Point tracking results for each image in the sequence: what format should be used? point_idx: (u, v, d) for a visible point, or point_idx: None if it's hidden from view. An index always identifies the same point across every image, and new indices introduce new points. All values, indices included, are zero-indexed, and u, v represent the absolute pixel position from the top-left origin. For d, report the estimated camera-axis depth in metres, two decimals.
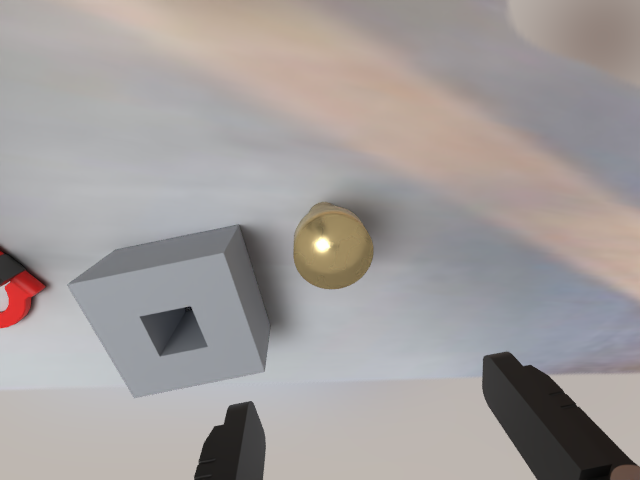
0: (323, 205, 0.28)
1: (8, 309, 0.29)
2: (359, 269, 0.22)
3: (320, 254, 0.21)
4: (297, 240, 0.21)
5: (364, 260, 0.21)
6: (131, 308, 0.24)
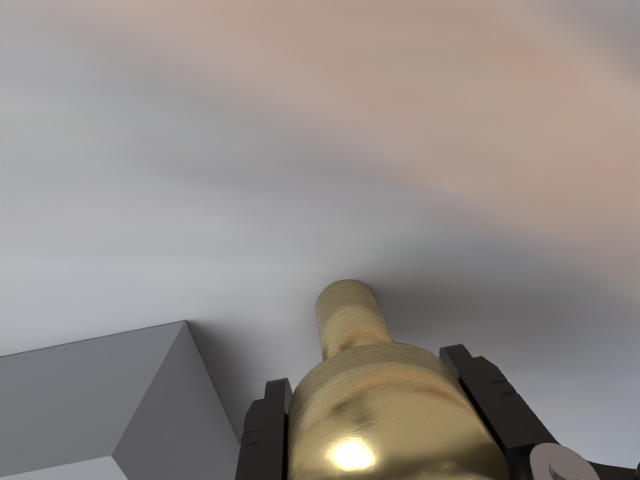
0: (347, 290, 0.14)
1: None
2: None
3: None
4: None
5: None
6: None
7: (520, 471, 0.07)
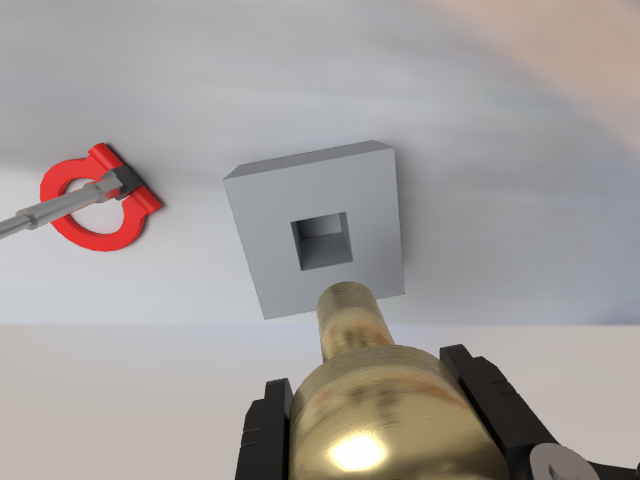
0: (347, 291, 0.14)
1: (121, 229, 0.27)
2: None
3: None
4: None
5: None
6: (284, 211, 0.22)
7: (520, 471, 0.07)
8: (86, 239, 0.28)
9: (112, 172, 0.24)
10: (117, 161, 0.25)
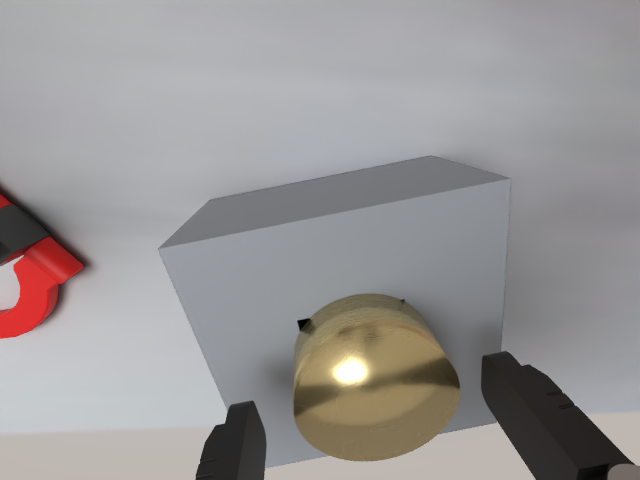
0: None
1: (19, 306, 0.17)
2: (427, 427, 0.11)
3: (350, 406, 0.10)
4: (302, 384, 0.10)
5: (439, 413, 0.10)
6: (285, 303, 0.11)
7: None
8: None
9: None
10: None
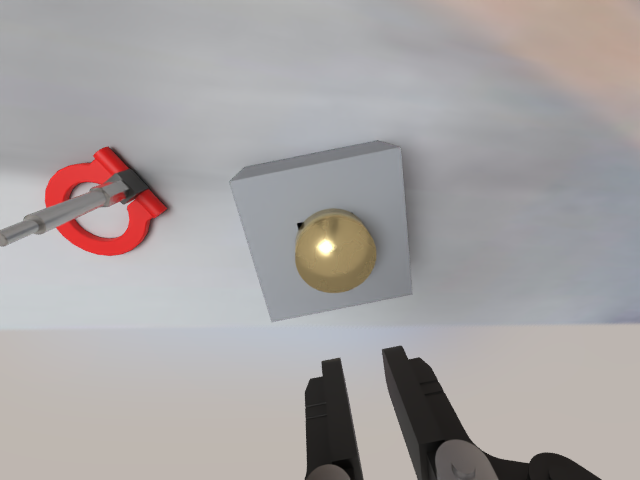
0: None
1: (127, 232, 0.27)
2: (362, 272, 0.21)
3: (322, 257, 0.21)
4: (299, 243, 0.20)
5: (367, 264, 0.21)
6: (290, 213, 0.22)
7: (431, 466, 0.08)
8: (91, 243, 0.28)
9: (117, 176, 0.24)
10: (122, 165, 0.25)
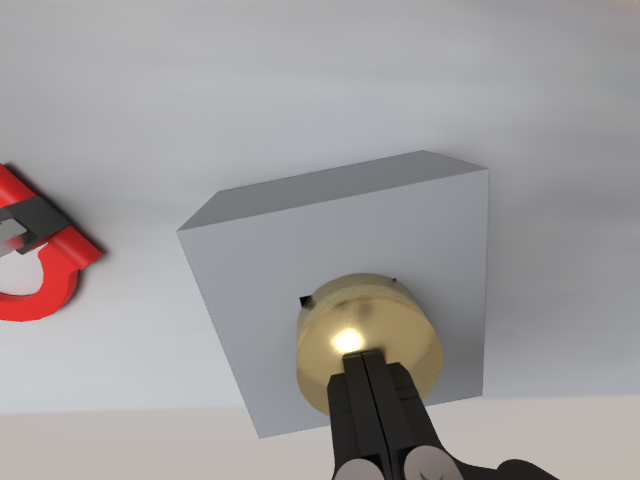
0: None
1: (42, 290, 0.18)
2: None
3: None
4: (303, 349, 0.11)
5: (425, 377, 0.12)
6: (288, 281, 0.13)
7: (401, 472, 0.08)
8: None
9: (6, 211, 0.15)
10: (23, 192, 0.16)
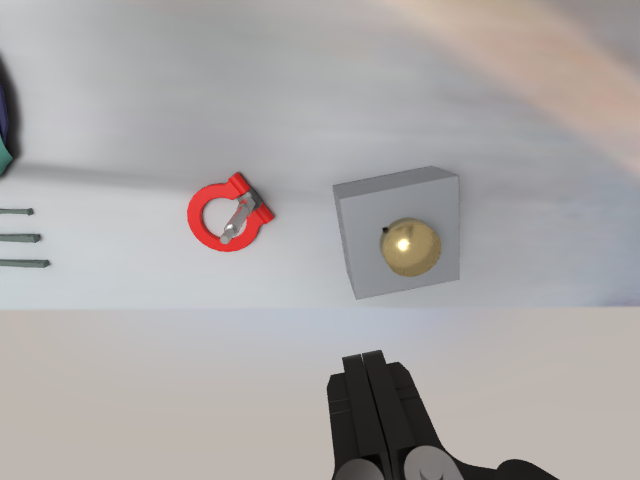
0: None
1: (243, 234, 0.37)
2: (430, 262, 0.31)
3: (404, 251, 0.30)
4: (389, 242, 0.29)
5: (434, 256, 0.30)
6: (378, 220, 0.31)
7: (401, 472, 0.08)
8: (216, 242, 0.37)
9: (248, 194, 0.33)
10: (247, 185, 0.35)
